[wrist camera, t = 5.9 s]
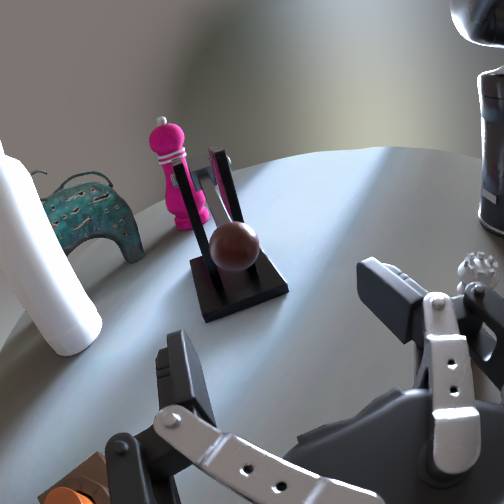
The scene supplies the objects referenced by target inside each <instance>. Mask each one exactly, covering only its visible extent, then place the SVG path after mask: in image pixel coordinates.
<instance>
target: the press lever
mask: <svg viewBox="0 0 504 504" xmlns="http://www.w3.org/2000/svg"><path fill="white" fill-rule="evenodd" d="M186 163H187V167H188V170H189V174H190V177H191V180H192V183H193V185H194V188H195V191H196V192H197V191H200V190H202V191H203V194H204V196H205V199H206V201H207V204H208V206H209V209H210V211H211V213H212V216H213V218H214V221H215V223H216V226H217V229H216V230H215V231H214V233H213V234H212V236H211V238H210V242H209V251H210V255H211V258H212V260H213V261H214V262H215V264H216V265H217V266H219V267H220V268H221V269H223V270H226V271H229V272H239V271H243V270H245V269H247V268H249V267H250V266H251V265H252V264H253V263H254V262H255V260H256V259H257V257H258V254H259V240H258V237H257V235H256V233H255V232H254V230H253V229H252V228H251V227H249V226H248V225H246V224H244V223H241V222H232V221H231V219H230V217H229V215H228V213H227V211H226V209H225V206H224V204H223V202H222V200H221V198H220V196H219V194H218V192H217V190H216V188H215V186H216V185H217V182H216V177H215V173H214V169H213V165H212V163H211V161H210V159H209V157H208V156H207V154H206V153H204V154H201V155H197V156H194V157H191V158H188V159H186Z"/></svg>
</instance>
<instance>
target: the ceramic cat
mask: <svg viewBox="0 0 504 504" xmlns="http://www.w3.org/2000/svg"><path fill="white" fill-rule="evenodd" d="M37 172H41V173H45V174H46V175H47V172H45V171H43V170H35V171H33V172H31V173H30V176H31V175H33V174H35V173H37ZM87 174H95V175H98V176H101V177H103V178H104V179H106V180H107V181H108V183H109V185H108V186H107V185H105V184H102V183H99V182H92V181H85V182H80V183H76V184H73V185H70V186H68V187H66V188H63V187H64V185H65V184H66V183H67V182H68V181H69V180H71V179H73V178H75V177H78V176H83V175H87ZM112 188H113V184H112V183H111V182H110V181H109V179H108V178H107V177H106V176H105V175H103V174H101V173H99V172H96V171H88V172H82V173H79V174H76V175H73V176H71V177H70V178H68V179H67V180H66V181H65V182H63V184H61V186H60V187H59V188H58V189H57V190H56V191H55V192H54V193H53V194H52V195H50V196H49V197H47V198H43V199H40V201H46V202H45V203H43V204H42V207H43V209H44V211H45V214H46V216H47V218H48V221H49V223H50V225H51V227H52V229H53V232H54V234H55V236H56V238H57V240H58V242H59V244H60V246H61V248H62V250H63V252H64V254H65V256H66V258H67V256H68V255H69V254H70V253H71V251H73V250H74V249H75V248H76V247H77V246H78V245H80V244H81V243H83V242H84V241H87V240H89V239H93V238H108V239H111V240H113V241H115V242H116V244H117V245H118V246H119V248H120V250H121V252H122V254H123V256H124V258H125V260H126V261H127V262H129V263H135V262H137V261H138V260H140V259H141V258H143V257H144V256H145V253H144V250H143V247H142V243H141V239H140V236H139V232H138V227H137V224H136V221H135V219H134V216H133V213H132V211H131V209H130V207H129V205H128V204H127V203H126V201H125V200H124V199H123V198H121V197H120V196H119V195H118V194H117V193H116V192H115V191H114V189H112Z"/></svg>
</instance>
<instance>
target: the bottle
mask: <svg viewBox="0 0 504 504" xmlns="http://www.w3.org/2000/svg"><path fill="white" fill-rule="evenodd" d="M0 268H1V270H2V272H3V274H4V275H5V277H6V279H7V281H8V283H9V284H10V286H11V288H12V289H13V291H14V293H15V294H16V296H17V297H18V299H19V301H20V302H21V304H22V305H23V307H24V309H25V310H26V312H27V313H28V315H29V316H30V318H31V319H32V320H33V322H34V323H35V325H36V326H37V328H38V329H39V330H40V332H41V334H42V335H43V337H44V338H45V340H46V341H47V343H48V344H49V345H50V346H51V347H52V348H53V349H54V350H55V352H56V353H57V354H58V355H61V356H72V355H75V354H77V353H79V352H81V351H83V350H84V349H86V348H87V347H89V345H90V344H91V343H92V342H93V341H94V340H95V339H96V338H97V336H98V334H99V333H100V330H101V326H102V321H101V317H100V316H99V314H98V313H97V311H96V308H95V306H94V305H93V303H92V301H91V300H90V299H89V298H88V296H87V295H86V293H85V291H84V289H83V288H82V286H81V284H80V282H79V281H78V279H77V277H76V275H75V273H74V271H73V270H72V268H71V266H70V264H69V262H68V260H67V258H66V256H65V254H64V252H63V250H62V248H61V246H60V244H59V242H58V240H57V238H56V236H55V234H54V232H53V229H52V227H51V225H50V223H49V221H48V218H47V216H46V214H45V211H44V209H43V207H42V204H41V202H40V199H39V197H38V194H37V192H36V189H35V187H34V184H33V181H32V179H31V176H30V174H29V173H28V171H27V170H26V169H25V167H24V166H23V165H22V164H21V163H20V161H18V160H16V159H13V158H11V157H8V156H6V155H4V152H3V149H2V145H1V142H0Z"/></svg>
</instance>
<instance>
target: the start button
mask: <svg viewBox="0 0 504 504" xmlns="http://www.w3.org/2000/svg"><path fill="white" fill-rule="evenodd" d="M44 504H94V503H93V502H92V501H91V500H90V499H89V498H87V497H85V496H83V495H81V494H79V493H77V492H75V491H73V490H71V489H69V488H66V487H58V488H55V489H53V490H52V491H51V492H50V493H49V494H48V495H47V497H46V499H45V502H44Z"/></svg>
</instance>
